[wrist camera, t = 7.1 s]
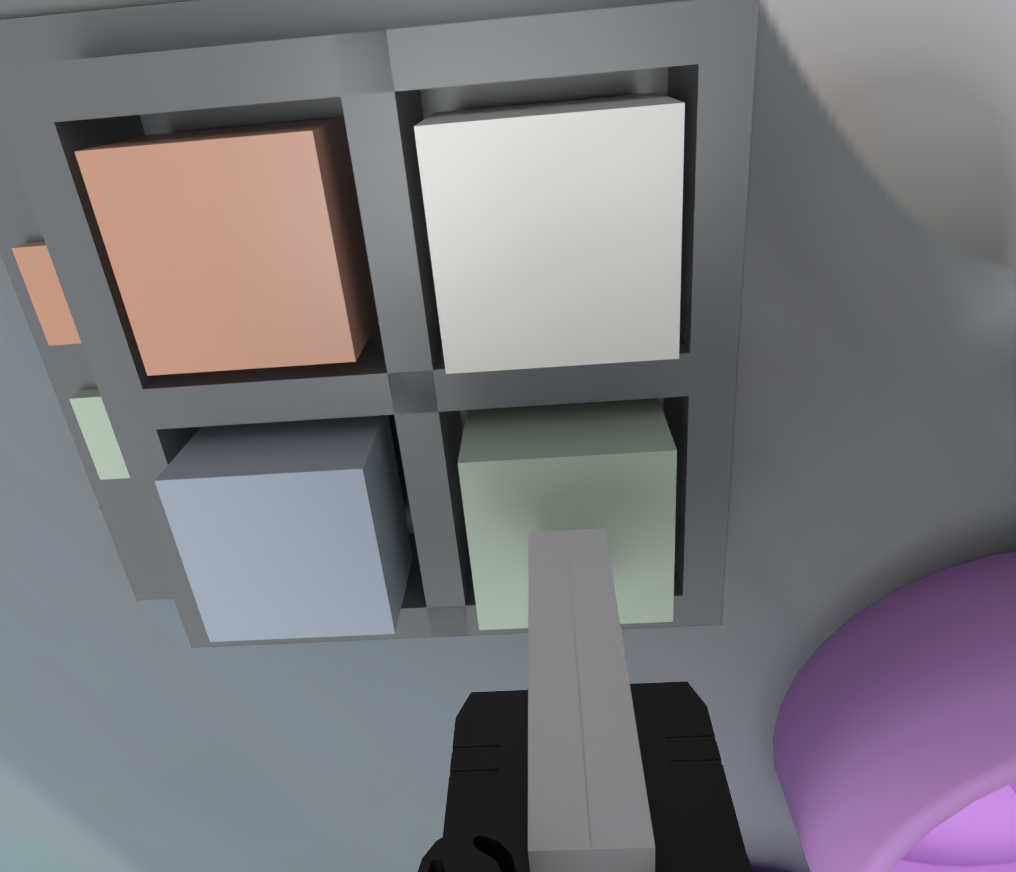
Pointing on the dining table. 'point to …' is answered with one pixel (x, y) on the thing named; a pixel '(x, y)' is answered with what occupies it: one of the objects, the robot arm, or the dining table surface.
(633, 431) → the sage key
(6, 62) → the grid organizer tray
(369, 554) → the slate key
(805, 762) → the container set
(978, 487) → the dining table surface
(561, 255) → the ivory key
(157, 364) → the terracotta key
